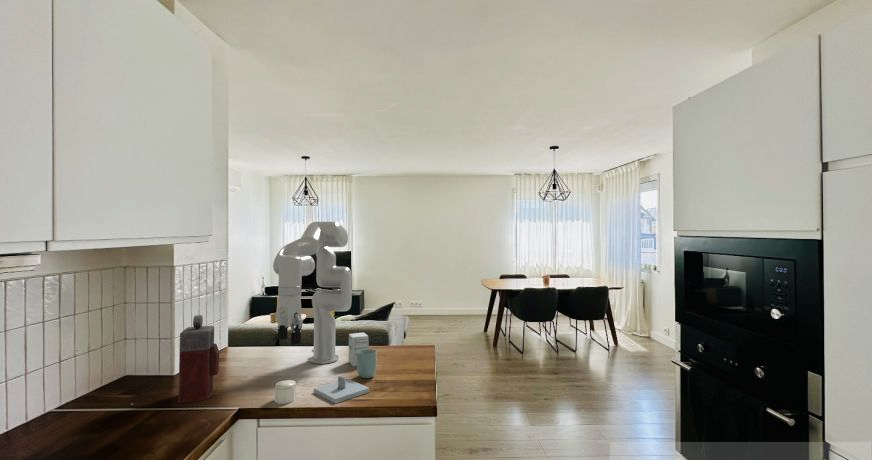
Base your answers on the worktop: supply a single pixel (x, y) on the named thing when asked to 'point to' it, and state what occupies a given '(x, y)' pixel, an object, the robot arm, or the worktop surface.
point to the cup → (366, 363)
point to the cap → (285, 391)
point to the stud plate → (341, 390)
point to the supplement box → (356, 346)
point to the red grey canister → (197, 361)
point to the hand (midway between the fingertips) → (288, 341)
